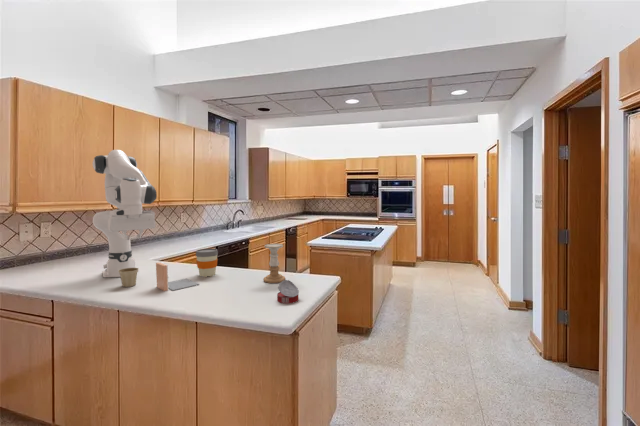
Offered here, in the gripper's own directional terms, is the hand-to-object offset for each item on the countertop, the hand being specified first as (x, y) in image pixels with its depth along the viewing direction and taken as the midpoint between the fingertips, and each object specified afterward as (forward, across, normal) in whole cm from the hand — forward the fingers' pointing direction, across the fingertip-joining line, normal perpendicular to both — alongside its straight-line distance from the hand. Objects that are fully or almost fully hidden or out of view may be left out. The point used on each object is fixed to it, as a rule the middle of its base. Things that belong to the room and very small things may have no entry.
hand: (133, 239), depth 156 cm
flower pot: (+27, -2, -17) cm, 32 cm away
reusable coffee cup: (+27, -41, -6) cm, 50 cm away
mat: (+27, -21, +2) cm, 34 cm away
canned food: (+28, -45, +63) cm, 82 cm away
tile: (+27, -12, +2) cm, 30 cm away
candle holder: (+27, -61, +33) cm, 75 cm away
